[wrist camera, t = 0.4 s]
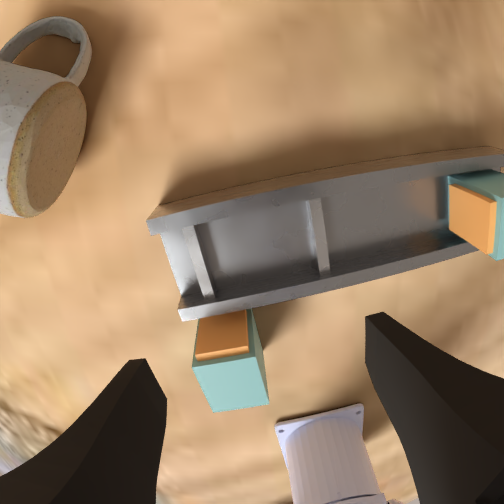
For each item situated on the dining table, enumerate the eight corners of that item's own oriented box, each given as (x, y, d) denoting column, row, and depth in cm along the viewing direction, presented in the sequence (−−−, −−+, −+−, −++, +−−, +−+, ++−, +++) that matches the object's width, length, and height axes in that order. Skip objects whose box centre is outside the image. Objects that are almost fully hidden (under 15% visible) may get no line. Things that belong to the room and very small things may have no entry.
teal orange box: (441, 176, 16) (495, 199, 12) (491, 169, 16) (544, 188, 12) (442, 229, 18) (490, 263, 13) (490, 217, 18) (538, 245, 13)
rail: (488, 226, 19) (510, 239, 17) (187, 296, 20) (182, 321, 18) (488, 146, 17) (514, 152, 14) (157, 205, 18) (146, 220, 15)
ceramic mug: (76, 204, 17) (2, 254, 10) (-16, 171, 16) (-94, 202, 9) (131, 32, 14) (72, -15, 7) (26, 19, 12) (-49, -6, 5)
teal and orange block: (248, 297, 20) (253, 349, 16) (262, 350, 22) (269, 403, 18) (197, 308, 20) (188, 360, 16) (215, 358, 22) (213, 412, 18)
